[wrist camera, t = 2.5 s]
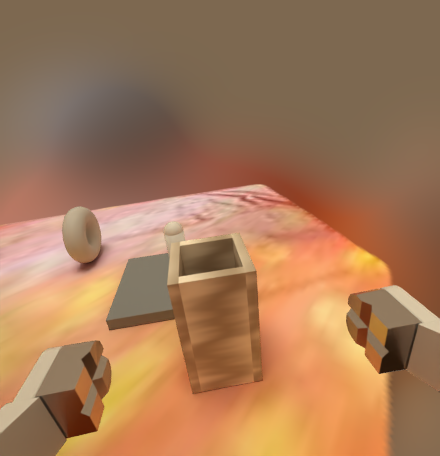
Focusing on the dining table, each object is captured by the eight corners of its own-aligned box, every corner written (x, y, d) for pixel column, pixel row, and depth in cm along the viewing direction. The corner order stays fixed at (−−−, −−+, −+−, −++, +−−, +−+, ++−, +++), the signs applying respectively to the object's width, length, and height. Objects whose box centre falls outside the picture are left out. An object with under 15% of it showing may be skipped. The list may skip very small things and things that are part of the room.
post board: (109, 329, 31) (82, 261, 27) (131, 266, 44) (115, 213, 40) (255, 304, 33) (251, 235, 29) (235, 250, 45) (230, 196, 41)
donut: (93, 272, 44) (72, 218, 40) (72, 276, 44) (49, 221, 39) (108, 244, 53) (93, 197, 49) (91, 247, 53) (74, 200, 48)
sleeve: (192, 393, 23) (167, 285, 18) (191, 337, 29) (171, 243, 24) (262, 380, 24) (256, 270, 19) (247, 327, 30) (239, 232, 25)
